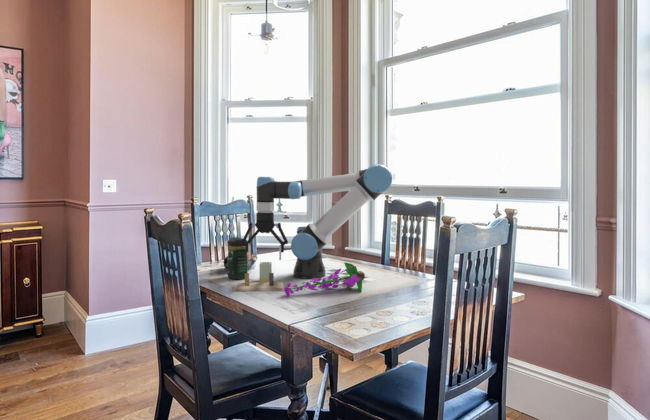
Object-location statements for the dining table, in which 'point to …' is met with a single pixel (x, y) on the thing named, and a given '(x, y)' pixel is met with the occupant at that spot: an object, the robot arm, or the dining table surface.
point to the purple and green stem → (349, 281)
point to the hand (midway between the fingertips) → (264, 259)
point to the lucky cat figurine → (249, 262)
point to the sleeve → (265, 271)
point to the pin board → (259, 285)
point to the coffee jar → (237, 258)
